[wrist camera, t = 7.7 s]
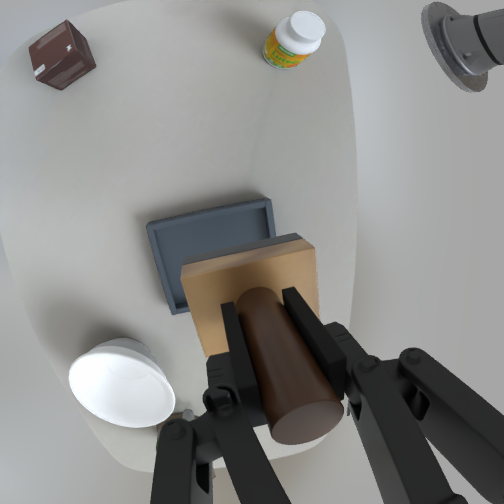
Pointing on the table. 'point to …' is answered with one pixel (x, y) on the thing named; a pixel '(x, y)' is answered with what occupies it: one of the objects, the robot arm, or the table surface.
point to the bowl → (122, 384)
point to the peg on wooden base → (266, 328)
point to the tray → (204, 239)
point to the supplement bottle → (293, 40)
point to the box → (61, 56)
